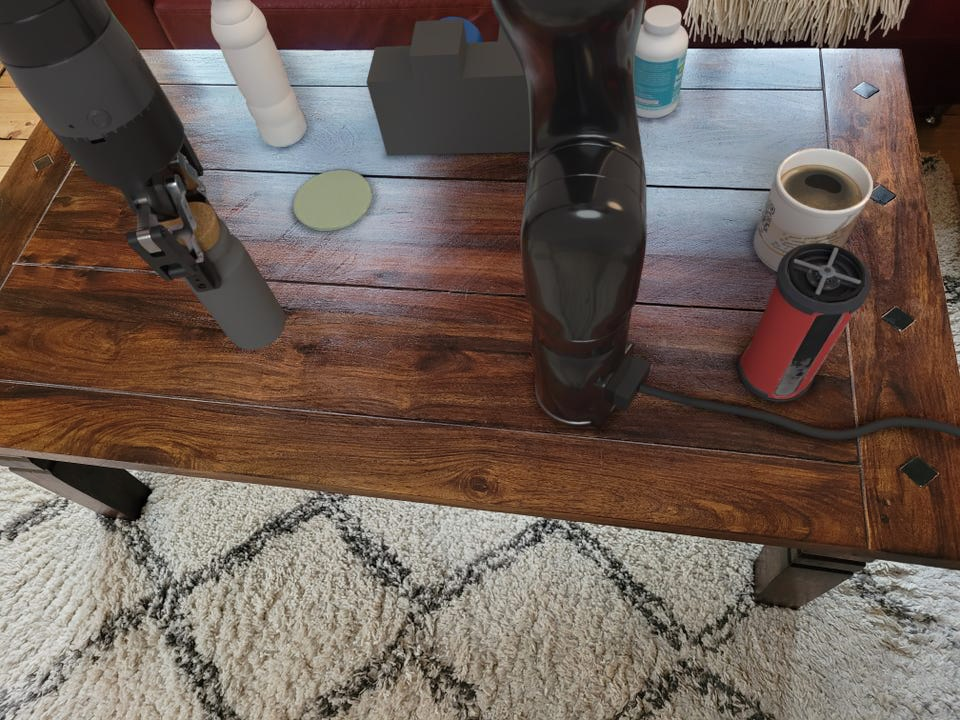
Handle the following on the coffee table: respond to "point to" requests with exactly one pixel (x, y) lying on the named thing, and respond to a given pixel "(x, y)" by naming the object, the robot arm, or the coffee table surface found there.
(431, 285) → the coffee table surface
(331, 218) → the coaster
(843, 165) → the mug
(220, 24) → the water bottle
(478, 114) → the camera
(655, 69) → the pill bottle
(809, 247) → the speaker
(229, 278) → the bottle
